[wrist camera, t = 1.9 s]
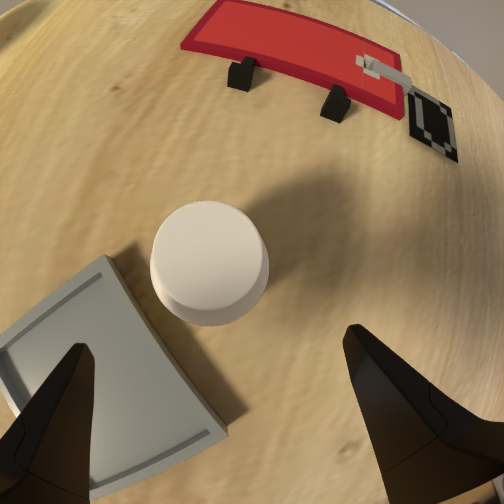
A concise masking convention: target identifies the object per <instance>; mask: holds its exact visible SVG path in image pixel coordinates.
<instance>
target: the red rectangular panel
mask: <svg viewBox="0 0 504 504" xmlns="http://www.w3.org/2000/svg"><path fill="white" fill-rule="evenodd" d="M180 47H181V50H187V51H193V52H199V53H204V54H209V55H214V56H219V57H223V58H228V59H232V60H236V61H241V64H239V63H235V62H232V63H231V65H230V67H229V71H228V83H227V87H231V88H235V89H239V90H242V91H246V92H248V90H249V88H250V86H251V81H252V76H253V70H254V65H256V66H260V67H263V68H267V69H270V70H273V71H277V72H280V73H283V74H286V75H289V76H292V77H295V78H298V79H301V80H304V81H307V82H310V83H313V84H316V85H319V86H321V87H324V88H327V89H329V90H331V92H330V93H329V95H328V97H327V99H326V101H325V103H324V105H323V107H322V109H321V113H320V116H322V117H325V118H327V119H330V120H332V121H335V122H337V123H340V122H341V121H342V119H343V117H344V116H345V114H346V113H347V111H348V110H349V108H350V104H351V100H350V99H348V98H346V97H343V95H345V96H347V97H350V98H352V99H354V100H357V101H359V102H361V103H364V104H366V105H368V106H370V107H373V108H375V109H377V110H379V111H381V112H383V113H385V114H388V115H390V116H392V117H394V118H396V119H398V120H400V119H401V118H402V117H403V116H404V105H403V94H404V95H406V94H407V93H408V104H409V129H410V136H411V137H413V138H415V139H417V140H419V141H421V142H423V143H424V144H426V145H428V146H430V147H432V148H433V149H435V150H437V151H438V152H440V153H442V154H444V155H445V156H447V157H449V158H450V159H452V160H453V161H455V162H457V163H458V157H457V147H456V139H455V131H454V124H453V118H452V112H451V108H449V107H448V106H446V105H445V104H443V103H442V102H440V101H438V100H437V99H435V98H434V97H432V96H430V95H429V94H427V93H425V92H423V91H422V90H420V89H418V88H416V87H415V86H413V85H411V77H409V76H407V75H405V74H403V73H402V72H401V61H400V55H399V54H397V53H396V52H394V51H392V50H390V49H388V48H385V47H383V46H381V45H379V44H377V43H375V42H373V41H370V40H368V39H366V38H364V37H361V36H359V35H357V34H354V33H352V32H349V31H347V30H344V29H342V28H339V27H336V26H334V25H331V24H328V23H325V22H322V21H319V20H316V19H313V18H310V17H307V16H304V15H300V14H297V13H294V12H290V11H286V10H283V9H279V8H275V7H271V6H266V5H262V4H257V3H253V2H247V1H242V0H217V1H216V2H215V3H214V5H213V6H212V7H211V8H210V9H209V10H208V11H207V12H206V13H205V15H204V16H203V17H202V18H201V19H200V20H199V22H198V23H197V24H196V25H195V26H194V28H193V29H192V30H191V31H190V32H189V34H188V35H187V36H186V37H185V39H184V40H183V41H182V43H181V44H180ZM364 65H366V66H368V67H369V70H368V69H366V68H364Z"/></svg>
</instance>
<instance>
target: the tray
mask: <svg viewBox="0 0 504 504" xmlns="http://www.w3.org/2000/svg"><path fill="white" fill-rule="evenodd" d="M75 343H86V344H87V345H88V347H89V349H90V351H91V352H92V354H93V356H94V359H95V382H94V409H93V419H92V432H91V447H90V482H89V487H90V500H89V501H91V500H94V499H97V498H99V497H102V496H105V495H108V494H110V493H113V492H116V491H118V490H121V489H123V488H126V487H128V486H131V485H133V484H136V483H138V482H140V481H143V480H145V479H147V478H149V477H152V476H154V475H156V474H158V473H160V472H162V471H164V470H167V469H169V468H171V467H173V466H175V465H177V464H179V463H181V462H183V461H185V460H187V459H188V458H190V457H192V456H194V455H196V454H198V453H200V452H202V451H203V450H205V449H207V448H209V447H211V446H212V445H214V444H216V443H218V442H219V441H221V440H223V439H225V438H226V437H228V429H227V426H226V424H225V423H224V422H223V421H222V420H221V418H220V417H219V416H218V415H217V414H216V412H215V411H214V410H213V409H212V407H211V406H210V405H209V404H208V402H207V401H206V400H205V398H204V397H203V396H202V395H201V393H200V392H199V391H198V389H197V388H196V387H195V385H194V384H193V383H192V381H191V380H190V379H189V377H188V376H187V375H186V373H185V372H184V371H183V369H182V368H181V366H180V365H179V364H178V362H177V361H176V359H175V358H174V357H173V355H172V354H171V352H170V351H169V349H168V348H167V347H166V345H165V344H164V342H163V341H162V339H161V338H160V336H159V335H158V333H157V332H156V330H155V329H154V327H153V325H152V324H151V322H150V321H149V319H148V318H147V316H146V314H145V313H144V311H143V310H142V308H141V306H140V305H139V303H138V302H137V300H136V298H135V297H134V295H133V293H132V292H131V290H130V288H129V286H128V285H127V283H126V281H125V280H124V278H123V276H122V274H121V272H120V271H119V269H118V267H117V265H116V264H115V262H114V260H113V259H112V258H111V257H109V256H107V255H105V254H104V255H102V256H101V257H99V258H98V259H97V260H95V261H94V262H92V263H91V264H90V265H88V266H87V267H86V268H84V269H83V270H81V271H80V272H79V273H77V274H76V275H75V276H73V277H72V278H71V279H69V280H68V281H67V282H65V283H64V284H63V285H61V286H60V287H59V288H57V289H56V290H55V291H54V292H52V293H51V294H50V295H48V296H47V297H46V298H45V299H43V300H42V301H41V302H40V303H38V304H37V305H36V306H35V307H33V308H32V309H31V310H30V311H28V312H27V313H26V314H25V315H23V316H22V317H21V318H20V319H19V320H17V321H16V322H15V323H14V324H13V325H12V326H10V327H9V328H8V329H7V330H6V331H5V332H3V333H2V334H1V335H0V390H1V392H2V394H3V396H4V397H5V399H6V401H7V403H8V404H9V406H10V408H11V410H12V411H13V413H14V415H15V416H16V418H17V417H18V415H19V414H20V413H21V411H22V410H23V409H24V407H25V406H26V405H27V403H28V402H29V400H30V399H31V398H32V396H33V395H34V394H35V392H36V391H37V390H38V388H39V387H40V386H41V384H42V383H43V382H44V381H45V379H46V378H47V377H48V375H49V374H50V373H51V372H52V370H53V369H54V368H55V367H56V365H57V364H58V363H59V362H60V360H61V359H62V358H63V357H64V355H65V354H66V353H67V352H68V350H69V349H70V348H71V347H72V346H73V344H75Z"/></svg>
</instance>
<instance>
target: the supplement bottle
mask: <svg viewBox="0 0 504 504" xmlns="http://www.w3.org/2000/svg"><path fill="white" fill-rule="evenodd" d="M150 272H151V279H152V283H153V287H154V289H155V291H156V293H157V295H158V297H159V299H160V300H161V302H162V303H163V304H164V305H165V306H166V307H167V308H168V309H169V310H170V311H171V312H172V313H173V314H175V315H176V316H177V317H179V318H181V319H182V320H184V321H187V322H189V323H192V324H196V325H200V326H220V325H224V324H228V323H231V322H233V321H235V320H237V319H239V318H241V317H242V316H244V315H245V314H247V313H248V312H249V311H250V310H251V309H252V308H253V307H254V306H255V305H256V304H257V302H258V301H259V300H260V298H261V296H262V294H263V292H264V290H265V288H266V285H267V281H268V276H269V258H268V253H267V249H266V246H265V244H264V242H263V240H262V238H261V236H260V235H259V232H258V230H257V228H256V227H255V225H254V224H253V222H252V221H251V220H250V219H249V218H248V217H247V216H246V215H245V214H244V213H243V212H242V211H240V210H239V209H237V208H236V207H234V206H232V205H229V204H226V203H224V202H220V201H214V200H202V201H196V202H192V203H189V204H187V205H185V206H183V207H181V208H179V209H177V210H176V211H174V212H173V213H172V214H171V215H170V216H169V217H168V218H167V219H166V220H165V221H164V222H163V223H162V225H161V227H160V228H159V230H158V232H157V234H156V237H155V240H154V244H153V250H152V255H151V261H150Z"/></svg>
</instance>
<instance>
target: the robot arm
mask: <svg viewBox="0 0 504 504" xmlns="http://www.w3.org/2000/svg"><path fill="white" fill-rule="evenodd" d="M343 349H344V353H345V357H346V362H347V366H348V370H349V375H350V379H351V383H352V386H353V389H354V392H355V395H356V397H357V400H358V403H359V406H360V409H361V412H362V415H363V418H364V421H365V424H366V427H367V430H368V433H369V436H370V440H371V443H372V446H373V449H374V452H375V455H376V459H377V462H378V465H379V468H380V472H381V474H382V475H381V476H382V479H383V482H384V486H385V489H386V493H387V496H388V500H389V503H390V504H504V422H493V421H487V420H484V419H481V418H479V417H477V416H476V415H474V414H473V413H471V412H470V411H468V410H467V409H465V408H464V407H462V406H461V405H459V404H458V403H456V402H455V401H454V400H452V399H451V398H449V397H448V396H447V395H445V394H444V393H443V392H442V391H440V390H439V389H438V388H437V387H435V386H434V385H433V384H432V383H431V382H429V381H428V380H427V379H426V378H425V377H423V376H422V375H421V374H420V373H419V372H417V371H416V370H415V369H414V368H413V367H411V366H410V365H409V364H408V363H407V362H405V361H404V360H403V359H402V358H401V357H399V356H398V355H397V354H396V353H395V352H393V351H392V350H391V349H390V348H389V347H387V346H386V345H385V344H384V343H383V342H381V341H380V340H379V339H378V338H377V337H375V336H374V335H373V334H372V333H370V332H369V331H368V330H367V329H366V328H364V327H363V326H362V325H360V324H354V325H349V326H348V328H347V330H346V333H345V335H344V338H343ZM94 382H95V359H94V356H93V354H92V352H91V351H90V349H89V347H88V345H87V344H86V343H75V344H73V346H72V347H71V348H70V349H69V350H68V352H67V353H66V354H65V355H64V357H63V358H62V359H61V360H60V362H59V363H58V364H57V365H56V367H55V368H54V369H53V370H52V372H51V373H50V374H49V375H48V377H47V378H46V379H45V381H44V382H43V383H42V384H41V386H40V387H39V388H38V390H37V391H36V392H35V394H34V395H33V396H32V398H31V399H30V400H29V402H28V403H27V405H26V406H25V407H24V409H23V410H22V411H21V413H20V414H19V415H18V417H17V418H16V420H15V421H14V422H13V424H12V425H11V426H10V428H9V429H8V430H7V432H6V433H5V434H4V435H3V437H2V438H1V439H0V504H90V501H89V500H90V487H89V482H90V447H91V432H92V419H93V409H94Z"/></svg>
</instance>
